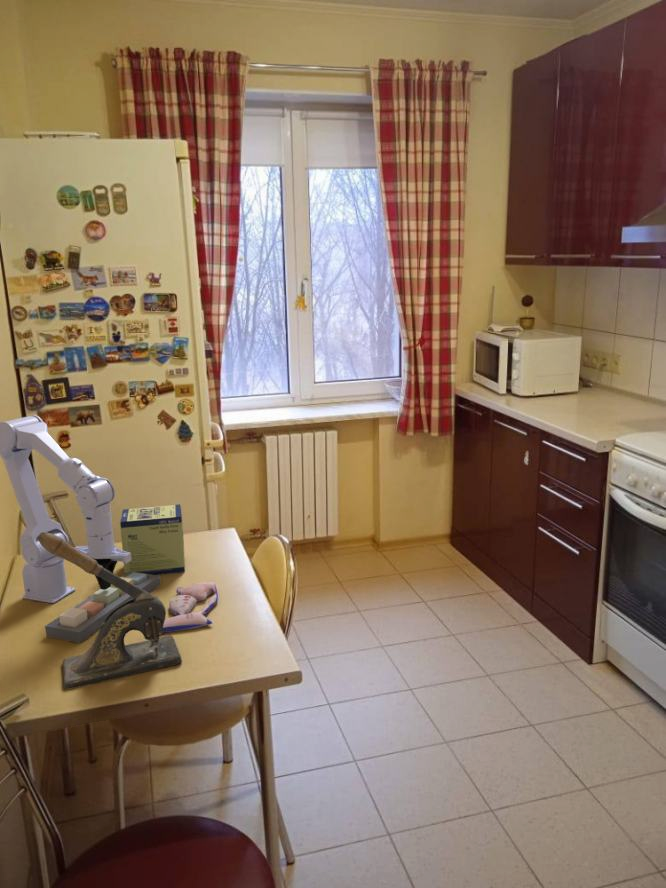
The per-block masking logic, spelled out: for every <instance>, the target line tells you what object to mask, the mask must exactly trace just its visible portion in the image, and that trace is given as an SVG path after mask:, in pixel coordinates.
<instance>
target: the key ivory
mask: <svg viewBox="0 0 666 888" xmlns="http://www.w3.org/2000/svg"><path fill="white" fill-rule="evenodd" d="M58 617H59V618H60V625H63V626H69V627H74V628H76V627H77V626H79V625H80V624H82V623H83V622H85V621H86V620H88V618H87V610H85V609H79V608H74V606H73V607H70V608H68V609H67V610H65V611H64V612H63V613H60V614H59V615H58Z"/></svg>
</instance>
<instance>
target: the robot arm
mask: <svg viewBox="0 0 666 888" xmlns="http://www.w3.org/2000/svg"><path fill="white" fill-rule="evenodd" d="M48 429H49V428H48V425H47V423H46V422H44V421H43V419H42V418H41V417H40V416H39V415H36V414H30V415H28V416H23V417H20V418H16V419H11V420H7V421H5V420H4V421H3V420H2V421H0V458H2V462H3V464H4V466H5V469H6V473H7V475H8V477H9V480H10V484H11V486H12V489H13V491H14V494H15V497H16V500H17V503H18V505H19V508H20V511H21V512H20V513H21V514H22V517H23V520H24V523H25V525H26V527H25V529H24V530H23V532H22V533H21V535H20V537H19V541H20V544H21V554H22V557H23V559H24V560H25V563H24V565H23V567H22V572H21V573H22V580H23V588H24V595H22V599H26V600H31V601H35V602H36V601H37V602H43V603H50V604H56V603H57V602H58V601H60V600H62V599H63V598H65V597H66V596H68V595H70V594H71V593H73V592H75V591H76V588H75V587H70V586H68V584H67V575H66V567H65V559H63V558H60V557H58V556H56V555H54V554H52V553H50V552H48V551H47V550H46V549H45V548H44V547H43V546H42V545H41V544H40V542H39V540H38V536H39V535H40V533H43V532H44V533H50V534H54V535H56V536H58V537H60V538H62V539H63V540H65V541H66V542H67V543H69V544H70V538H69V537H68V535H67V533H66V532H65V531H64V529H63V528H62V525H61V523H60V522H57V521H56V520H53V519H51V518H50V516H49V513H48V511H47V507H46V503H45V501H44V499H43V496H42V493H41V490H40V487H39V484H38V482H37V478H36V475H35V473H34V470H33V467H32V464H31V461H30V460H29V457H30V455H31V453H32V451H33V450H35V451H36V452H37V453H39V455H41V456H42V457H43V458H44V459H46V460H47V461H48V462H49V463H50V464H52V465H53V466H55V468H56V469H57V476H58V478H60V479H61V480H62V482H64V483H65V484H66V485H67V487H68V488H70V489H71V490H72V491H73V492H74V494H75V500H76V501H77V505H78V506H79V507H80V509H81V514H82V516H83V517H84V523H85V532H86V533H85V534H86V540H87V545H77V546H75V547H74V548H75V549H77V550H78V551H80V552H81V553H83V554H84V555H86V556H88V557H90V558H92V559H94V560H96V561H97V563H98V564H99V565H101V566H103V568H105V569H106V570H108V571H110V572H111V573H113V574H114V572H115V571H114V570H115V568H116V566H117V564H118V562H122V563H123V564H124V563H128V562H130V561H131V553H130V552H126V551H123V549H119V548H117V547H116V546H117V545H116V544H115V541H114V540H115V538H114V530H113V519H112V511H111V509H112V508H111V502H112V501H113V500H114V498H115V492H116V491H115V488H114V486H113V484H112V482H111V481H110V479H108V478H105V477H101V476H99V475H95V473H93V472H92V471H91V470H90V469H89V468H88V467H87V466H86V465H85V464H84V463H83V462H82V460H81V459H79V458H75V457H72V458H71V457H69V456H68V454H67V453H66V452H65V451H64V450H63V449H62V448H61V447H60V445H59V444H58V443H57V442H56V440H54V439H53V438H52V436H51V435H50V434H49V430H48ZM70 545H71V544H70ZM94 577H95V579H96V581H97V583H98V586H99V588H100V589H103V590H106V589H108V588H109V587H111V583H109V582H107V581H106V580H104V579H103V578H101V577H98V576H95V575H94Z"/></svg>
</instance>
